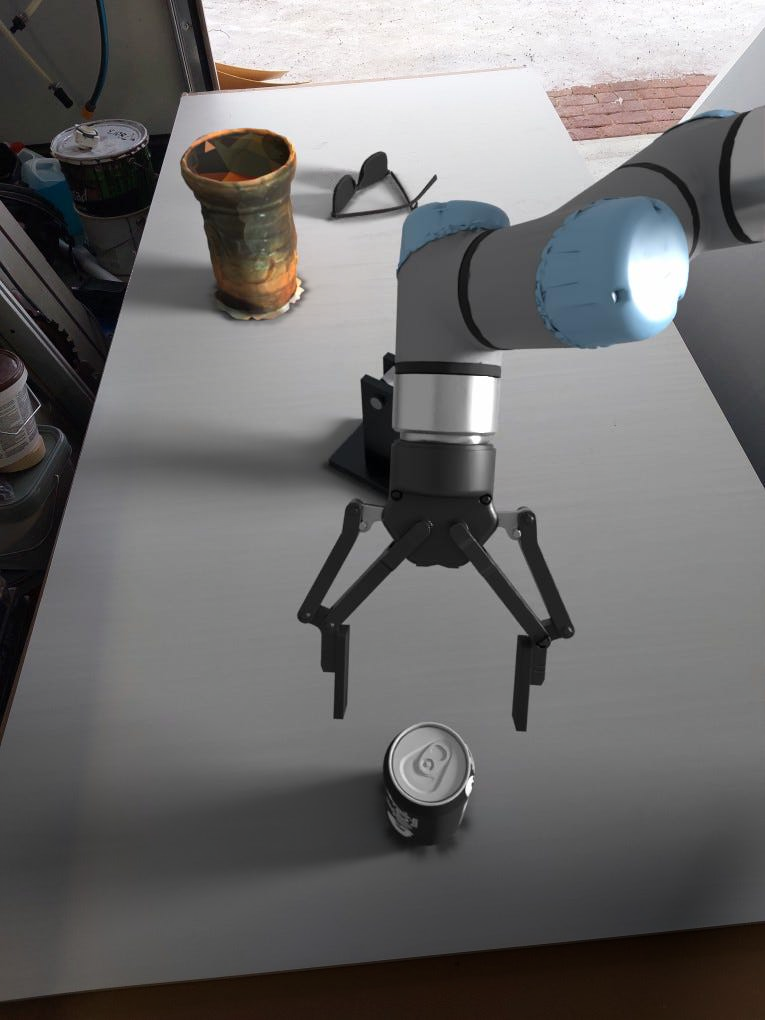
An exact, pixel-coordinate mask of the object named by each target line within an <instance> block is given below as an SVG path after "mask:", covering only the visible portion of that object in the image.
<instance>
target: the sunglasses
mask: <svg viewBox="0 0 765 1020" xmlns="http://www.w3.org/2000/svg"><path fill="white" fill-rule="evenodd" d="M388 164H389V160H388V155H387V153H386V152H384V151H383V150H380V151H376V152H374V153H372V154H371V155H369V156H368V157H366V158H365V160H364V161H363V162H362V164H361V166H360V170H359V174H358V178H357V181H356V179H355V178H354V177H353V176H352V175H351V174H344V175H343V176H341V178H340V179H339V180H338V181H337V183H336V184H335V186H334V189H333V192H332V200H331V201H332V208H331V213H330V217H331V218H334V219H336V220H337V219H348V218H357V217H358V218H359V217H365V216H372V215H379V214H385V213H390V212H391V213H392V212H395V211H396V212H397V211H401V210H403V209H406V208H409V209H410V212H411V211H413V210H414V209H416V208H417V207H419V200H420V199H421V198H422V197H423V196H424V195H425V194H426V193H427V192H428V190H429V189H431V187H432V186H433V185H434V184H435V183H436V182H437V180H438V175H437V174H433V176H432V177H431V178H430V180H429V181H428V182H427V184H426V185H425V186H424V187H423V188H422V189H421V191H420V192H419V193H418V194H417V195H416V196H415V197H414V199H412V200H410V197H409V196H408V194H407V192H406V190H405V188H404V187H403V184H402V183H401V182H400V180H399V178H398V177H397V176H396V174H395V173H394V171H393V170H390V169H389V168H388V167H389V166H388ZM388 175H390V176H391V177H392V178H393V180H394V182H395V184H397V186H398V187H399V189H400V191H401V193H402V195H403V196H404V198H405V200H406V202H407V203H404V204H400V205H397V206H393V207H386V208H379V209H373V210H365V211H364V210H363V211H356V212H347V213H341V212H342V211H343V210H344V209H345V207H347V205H348V203H349V202H350V201H351V199H353V197H354V196H355V195H356V193H357V192H359V191H361V190H364V189H367V188H369V187H371V186H373V185H374V184H376V183H378V182H380V181H381V180H383V179H384V178H385V177H387V176H388ZM413 205H414V206H413Z"/></svg>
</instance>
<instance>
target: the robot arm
mask: <svg viewBox="0 0 765 1020" xmlns="http://www.w3.org/2000/svg"><path fill="white" fill-rule="evenodd" d="M764 242H765V104H764V105H761V106H757V107H754V108H753V109H751V110H747V111H743V112H738V111H735V110H729V109H713V110H708V111H704V112H701V113H698V114H697V115H695V116H693V117H690V118H689V119H686V120H684V121H682V122H680V123H677V124H674V125H673V126H671V127H668V128H667V129H666V130H665V131H664V132H663V133H662V134H661V135H660V136H658V137H656V138H655V139H654V140H653V141H652V142H651V143H650V144H648V145H647V146H645V147H644V148H643V149H641V150H639V152H637V153H635V154H634V155H633V156H631V157H630V158H628V159H627V160H626V161H624V162H623V163H621V164H620V165H619V166H618V167H616V168H615V169H613V170H612V171H611V172H609V173H608V174H606V175H605V176H603V177H602V178H600V179H599V180H597V181H596V182H594V183H593V184H592V185H590V186H588V187H587V188H585V189H584V190H583V191H581V192H580V193H578V194H576V196H574V197H573V198H571V199H569V200H568V201H567V202H566V203H564V204H562V205H561V206H560V207H558V208H557V209H555V210H554V211H551V212H550V213H548V214H546V215H543V216H540V217H537V218H534V219H530V220H526V221H524V222H520V223H517V224H512V225H511V221H510V218H509V216H508V214H507V213H506V211H504V210H503V209H502V208H500V207H498V206H497V205H494V204H492V203H486V202H483V201H477V200H469V199H468V200H467V199H454V200H453V199H452V200H451V199H450V200H449V201H444V202H443V201H442V202H441V201H440V202H439V201H433V202H429V203H424V204H421V205H420V206H419V205H418V207H417V208H416V209H414V210H413V211H411V210H410V212H409V213H408V215H406V217H405V219H404V220H403V224H402V227H401V239H400V250H399V260H398V263H397V268H396V269H395V277H396V281H397V282H396V283H397V285H396V286H397V288H396V319H395V322H396V323H395V347H394V348H395V352H394V355H395V363H396V365H395V374H398V375H394V387H393V413H392V428H393V429H394V430H395V431H397V432H400V439H397V440H394V444H391V464H390V487H389V497H388V499H387V502H386V503H385V504H384V505H380V504H374V503H366V502H364V501H363V500H362V499H361V498H352V499H351V500H350V501H349V502H348V503H347V505H346V506H345V508H344V515H343V519H342V520H343V521H342V528H341V533H340V534H339V536H338V538H337V540H336V541H335V544H334V546H333V547H332V549H331V551H330V552H329V554H328V556H327V558H326V560H325V562H324V564H323V565H322V567H321V568H320V571H319V573H318V574H317V575H316V578H315V580H314V581H313V584H312V586H311V587H310V588H309V591H308V593H307V594H306V596H305V598H304V600H303V602H302V603H301V605H300V607H299V609H298V611H297V614H296V618H297V620H298V621H299V622H300V623H302V624H305V625H306V624H309V625H312V626H314V627H316V628H318V630H319V631H320V635H321V639H320V641H321V642H320V668H321V671H322V673H330V674H331V673H332V674H333V673H334V681H333V683H334V685H333V713H332V716H333V717H332V719H333V720H344V718H345V715H346V711H347V707H348V699H349V698H348V697H349V696H348V695H349V669H350V643H351V642H350V639H351V637H350V635H351V624H344V622H345V621H346V620H347V619H348V618H349V617H350V616H352V614H353V613H354V612H355V611H356V610H357V609H358V608H359V607H360V606H361V605H362V603H363V602H365V600H367V598H368V597H369V596H370V595H371V594H372V593H373V592H374V591H375V590H376V589H377V588H378V587H379V586H380V585H381V583H382V582H384V581H385V579H387V578H388V577H389V576H390V574H391V573H392V572H394V571H396V569H397V568H398V567H399V566H401V564H402V563H403V562H404V561H405V560H407V561H408V562H410V563H411V564H413V565H415V567H417V568H418V567H420V568H427V567H433V566H440V567H443V568H447V569H456V570H457V569H460V567H463V566H465V565H467V564H469V563H471V564H472V566H473V567H474V568H475V570H476V571H477V573H479V575H481V578H483V579H484V581H485V582H486V583H487V584H488V585H489V587H490V589H492V591H493V592H494V594H495V595H496V596H497V597H498V598H499V600H500V601H501V602H502V603H503V605H504V606H505V607H506V609H507V610H508V611H509V613H510V614H511V615H512V617H513V618H514V620H516V622H517V623H518V624H519V625H520V627H521V628H522V629H523V630H524V632H525V633H526V634H517V636H516V637H517V638H516V652H515V665H514V678H513V679H514V680H513V693H512V707H511V717H512V721H513V725H514V728H515V731H516V732H523V733H526V732H528V731H527V728H528V717H529V703H530V690H531V686H539V687H541V686H543V683H544V682H545V680H546V667H547V656H548V655H547V654H548V649H549V647H551V644H552V642H553V641H556V640H559V639H565V640H568V639H571V638H573V637H574V636H575V634H576V628H575V625H574V623H573V621H572V618H571V616H570V614H569V611H568V609H567V607H566V605H565V602H564V600H563V598H562V596H561V593H560V591H559V588H558V586H557V583H556V581H555V578H554V576H553V574H552V572H551V569H550V567H549V565H548V562H547V560H546V558H545V555H544V554H543V551H542V548H541V546H540V543H539V537H538V535H539V534H538V518H537V515H536V514H535V513H534V511H532V509H531V508H529V507H528V506H520V507H518V508H517V509H515V510H513V509H512V510H500V511H496V508H495V505H494V490H495V474H496V473H495V472H496V459H497V458H496V457H497V448H495V447H494V443H491V442H490V440H489V437H491V436H492V437H493V436H495V435H496V434H497V433H498V430H499V415H500V413H499V412H500V411H499V410H500V395H501V378H502V365H503V352H504V351H513V350H543V349H548V350H549V349H580V350H583V349H584V350H585V349H587V350H597V349H598V348H609V347H612V346H615V345H621V344H628V343H636V342H642V341H646V340H649V339H651V338H653V337H655V336H657V335H658V334H660V333H661V332H663V330H665V329H666V328H667V327H668V326H669V325H670V324H671V322H672V321H673V320H674V319H675V318H676V317H675V316H676V314H677V311H678V302H679V301H680V300H682V299H683V298H684V296H685V294H686V290H687V288H688V287H687V286H688V281H689V270H690V262H691V261H692V260H693V259H695V258H696V257H697V256H698V255H701V254H703V253H706V252H710V251H717V250H723V249H730V248H736V247H742V246H749V245H754V244H760V243H764ZM377 522H381V523H382V525H383V527H384V528H385V530H386V531H387V533H388V534H389V535H390V537H391V538H392V541H391V542H390V543H389V544H388V545H387V546H386V547H385V549H384V550H383V551H382V552H381V554H380V555H379V556H378V557H376V559H375V560H374V561H373V562H372V563H371V564H370V565H369V566H368V567H367V568H366V569H365V570H364V572H363V573H362V574H361V575H360V576H358V578H357V579H356V580H355V581H354V582H353V583H352V584H351V585H350V586H349V587H348V588H347V590H346V591H345V592H344V593H343V594H342V595H341V596H340V597H339V598H338V599H337V600H336V601H335V602H334V603H333V605H331V606H330V607H327V606H325V605H323V604H322V603H323V601H324V599H325V597H326V596H327V594H328V592H329V590H330V589H331V587H332V585H333V583H334V581H335V580H336V578H337V576H338V574H339V573H340V571H341V569H342V567H343V565H344V563H345V561H346V559H347V558H348V557H349V554H350V553H351V551H352V549H353V547H354V546H355V543H356V542H357V540H358V538H359V536H360V533H368V532H369V531H370V530H371V528H372V526H373V525H374V523H377ZM498 528H503V529H504V530H505V531H506V534H507V536H508V537H509V539H510V540H512V541H517V544H518V546H519V549H520V551H521V553H522V555H523V558H524V560H525V563H526V565H527V568H528V569H529V572H530V574H531V577H532V579H533V581H534V583H535V587H536V588H537V591H538V593H539V595H540V597H541V600H542V602H543V605H544V607H545V610H546V612H547V614H548V616H549V618H546V619H542V620H541V619H540V618H539V617H538V615H537V614H536V613H535V611H533V609H532V607H531V606H529V604H528V603H527V601H526V600H525V599H524V597H523V596H522V594H521V593H520V592H519V591H518V590H517V588H516V587H515V586H514V585H513V583H512V582H511V581H510V579H509V578H508V576H507V575H506V574H505V573H504V571H503V570H502V569H501V568H500V566H499V565H498V564H497V562H496V561H495V560H494V559H493V557H492V556H491V554H490V552H489V551H488V550H487V548H486V547H484V545H485V544H486V543H487V542H488V540H489V539H490V538H491V537H492V536H493V535H494V534H495V532H496V531H497V529H498Z"/></svg>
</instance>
